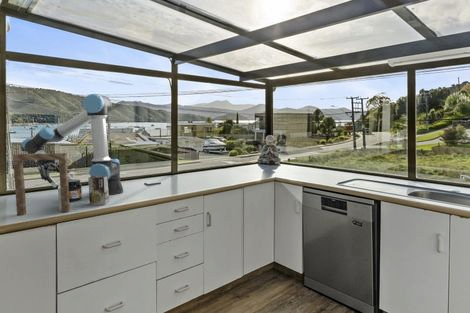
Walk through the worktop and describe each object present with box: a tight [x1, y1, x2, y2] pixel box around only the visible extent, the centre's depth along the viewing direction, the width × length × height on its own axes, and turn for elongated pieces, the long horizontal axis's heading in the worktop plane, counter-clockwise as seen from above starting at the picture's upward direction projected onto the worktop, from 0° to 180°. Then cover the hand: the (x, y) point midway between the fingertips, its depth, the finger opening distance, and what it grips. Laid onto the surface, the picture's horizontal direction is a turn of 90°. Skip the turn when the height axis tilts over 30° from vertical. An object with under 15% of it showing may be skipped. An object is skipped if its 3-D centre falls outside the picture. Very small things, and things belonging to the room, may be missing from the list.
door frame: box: [12, 152, 71, 216], centre depth 156 cm, size 24×3×31 cm, turn 104°
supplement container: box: [68, 178, 83, 203], centre depth 185 cm, size 10×10×12 cm
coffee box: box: [87, 176, 110, 206], centre depth 176 cm, size 9×6×16 cm
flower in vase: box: [67, 156, 76, 179], centre depth 203 cm, size 13×11×25 cm
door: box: [57, 183, 62, 212], centre depth 166 cm, size 15×3×12 cm, turn 29°
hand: (64, 184), depth 185 cm, fingers open, 13 cm apart
